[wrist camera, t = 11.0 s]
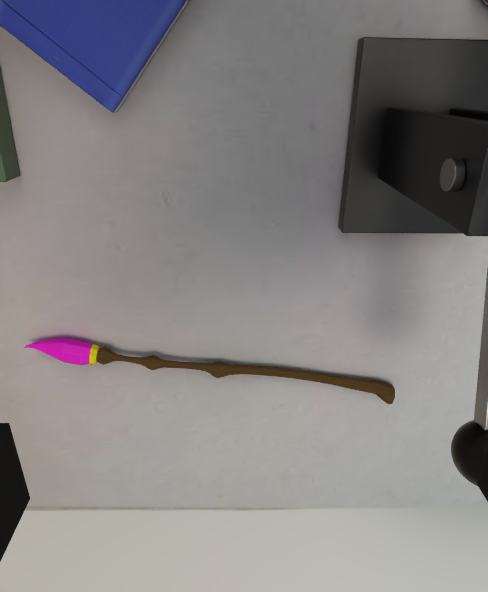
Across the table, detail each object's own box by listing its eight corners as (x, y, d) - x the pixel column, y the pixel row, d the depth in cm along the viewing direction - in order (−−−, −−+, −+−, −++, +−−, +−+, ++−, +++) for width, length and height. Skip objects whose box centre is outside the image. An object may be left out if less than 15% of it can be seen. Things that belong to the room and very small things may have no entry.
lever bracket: (460, 228, 34) (596, 316, 21) (338, 227, 33) (404, 316, 21) (501, 41, 29) (714, 12, 16) (358, 38, 28) (462, 6, 16)
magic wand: (389, 375, 40) (30, 331, 36) (398, 381, 38) (21, 335, 35) (385, 400, 40) (27, 359, 37) (394, 407, 38) (17, 364, 35)
